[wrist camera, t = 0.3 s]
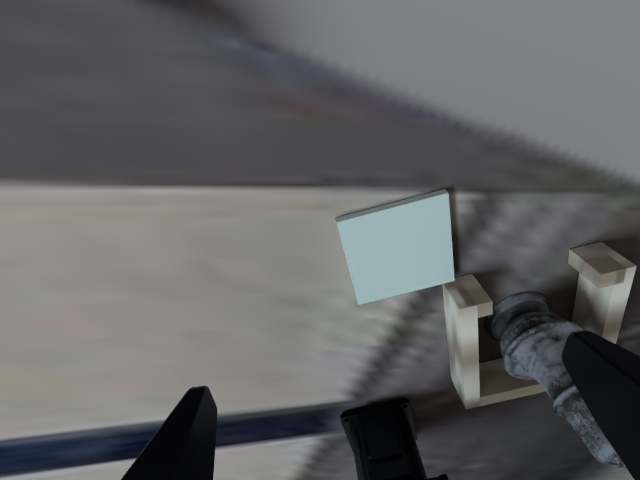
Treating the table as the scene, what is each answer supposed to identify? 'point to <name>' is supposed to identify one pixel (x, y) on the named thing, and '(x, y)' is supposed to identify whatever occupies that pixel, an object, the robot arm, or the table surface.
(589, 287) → the beige bracket
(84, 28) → the table surface
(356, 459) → the robot arm
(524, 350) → the dark grey chess piece
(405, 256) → the pad
